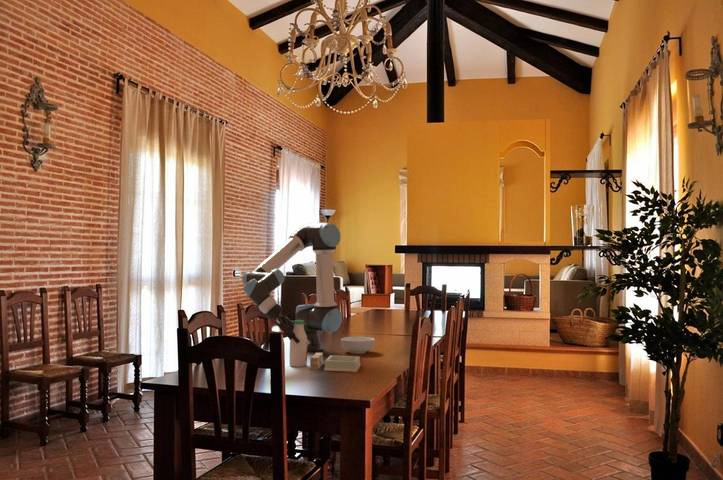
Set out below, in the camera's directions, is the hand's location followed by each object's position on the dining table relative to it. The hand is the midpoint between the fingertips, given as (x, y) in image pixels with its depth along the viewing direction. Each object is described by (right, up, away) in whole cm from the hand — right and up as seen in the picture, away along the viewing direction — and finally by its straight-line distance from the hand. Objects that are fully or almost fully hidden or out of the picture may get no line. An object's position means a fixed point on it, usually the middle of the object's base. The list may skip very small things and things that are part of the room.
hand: (306, 346), depth 265 cm
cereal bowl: (+23, -10, +37) cm, 44 cm away
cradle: (+16, -9, -3) cm, 19 cm away
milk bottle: (-4, -9, 0) cm, 9 cm away
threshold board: (+5, -9, -2) cm, 10 cm away
